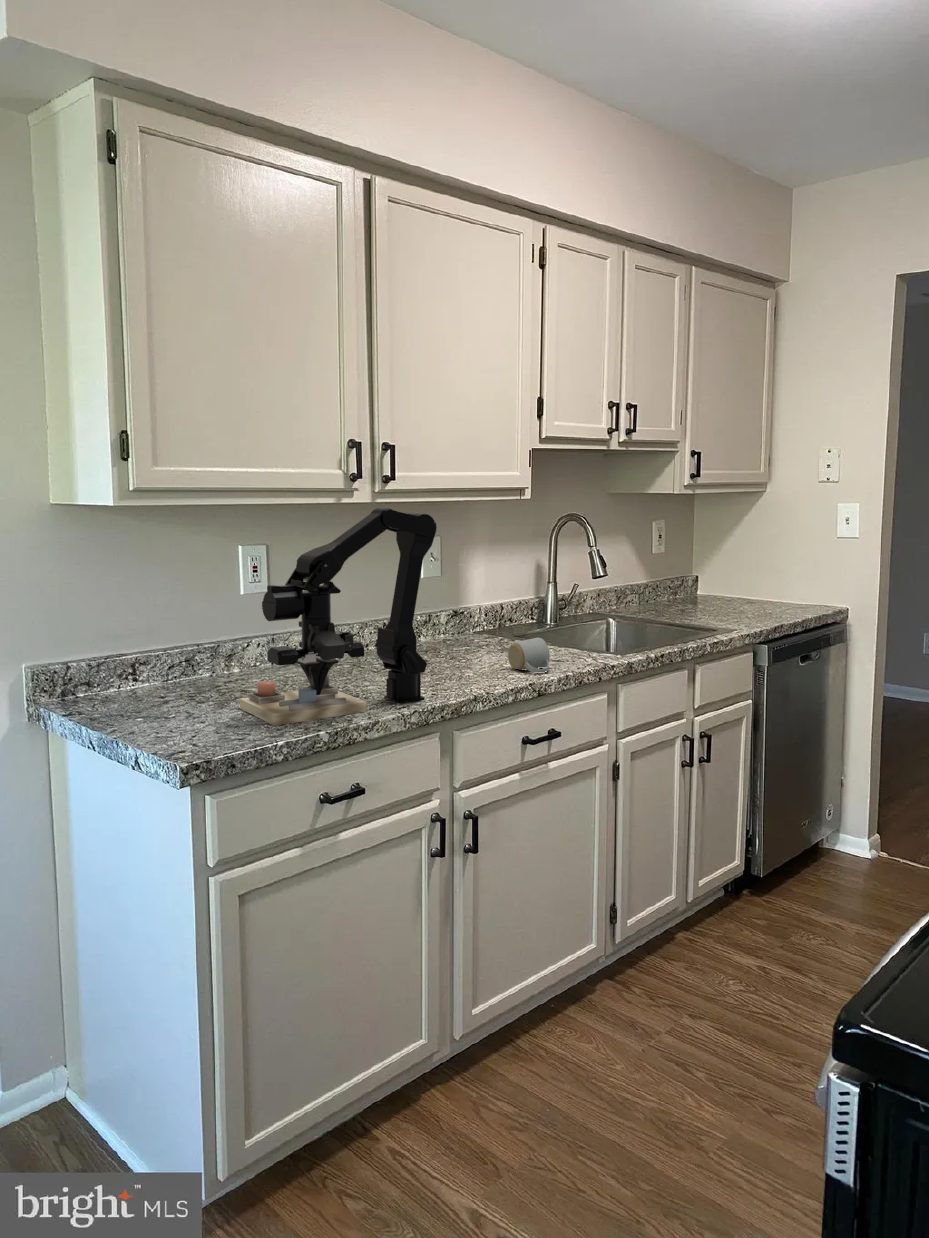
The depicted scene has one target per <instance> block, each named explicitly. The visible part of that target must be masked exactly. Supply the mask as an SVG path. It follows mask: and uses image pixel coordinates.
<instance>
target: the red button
mask: <svg viewBox="0 0 929 1238" xmlns="http://www.w3.org/2000/svg"><path fill="white" fill-rule="evenodd" d="M276 683H277V682H276V681H272V680H263V681H258V682H257V683H256V685H257V693H258V695H274V694H276V692H277V689H276V688H277V687H276V686H277V684H276Z"/></svg>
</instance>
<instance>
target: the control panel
mask: <svg viewBox="0 0 929 1238" xmlns="http://www.w3.org/2000/svg"><path fill="white" fill-rule="evenodd" d="M304 688H311V685H305V686H302V689H304ZM311 689H312V688H311ZM239 709H240V710H242V711H245V713H246V712H247V713H249V714H251V715H253V716H254V717H256V718H258V719H260V720H262V721H264V722H266V723H269V724H270V725H272V726H280V725H286V724H287V725H288V724H294V723H300V722H301V723H302V722H307V721H312V720H313V721H315V720H319V719H326V718H332V717H334V718H335V717H340V716H347V715H354V714H359V713H366V712H367V711H368V710H367V709H368V702H367V701H366V700H363V699H361V698H357V697H355V696H352V695H350V694H347V693H344V692H342V691H339V688H338V687H336V686H334V685H331V684H329V687H327V688H322V691H321V694H320V695H316V702H309V703H302V704H300V703H299V694H298V690H294V691H287V692H279V691H276V694H274V695H258V692H251V693H248V697H242V698H241V697H240V698H239Z"/></svg>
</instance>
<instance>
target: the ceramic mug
mask: <svg viewBox="0 0 929 1238" xmlns="http://www.w3.org/2000/svg"><path fill="white" fill-rule="evenodd" d="M507 657H508V662H509V664H510V666H511V667H512V669H513V670H515V669H519V670H522V669H527V670H526V671H529V672H531V673H532V672H545V671H549V668H550V649H549V646H548V644H547V642H546V640H544V638H541V637H534V638H533V637H532V638H529V639H524V640H519V641H516V642H513V643H511V645H510V646H509V648H508V653H507ZM538 667H545V668H542V669H538ZM519 670H518V671H519Z"/></svg>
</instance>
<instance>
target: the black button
mask: <svg viewBox="0 0 929 1238" xmlns="http://www.w3.org/2000/svg"><path fill="white" fill-rule="evenodd" d="M329 685H330V675H329V674H327V676H326V679H325V682H324V685H323V688H327V687H329Z"/></svg>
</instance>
